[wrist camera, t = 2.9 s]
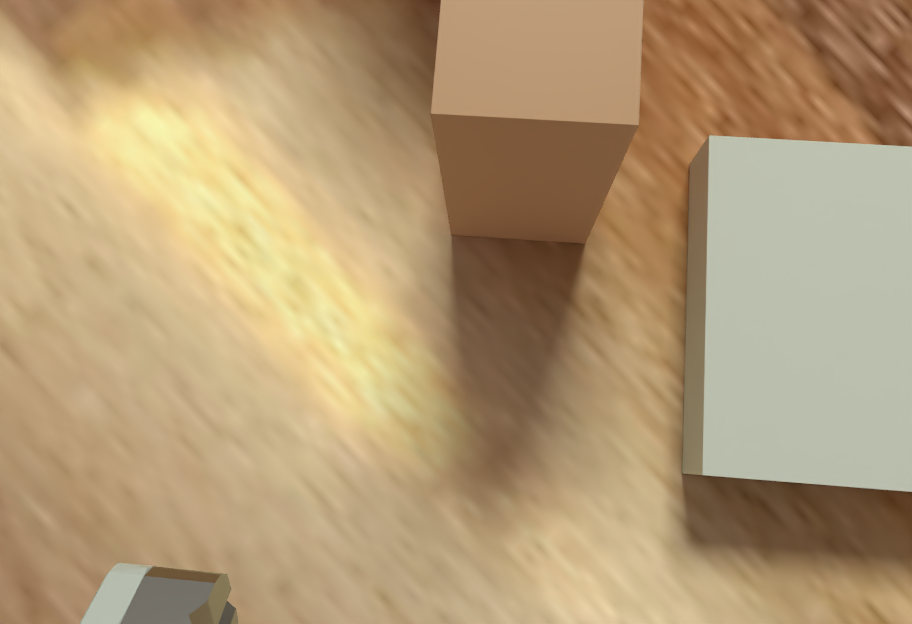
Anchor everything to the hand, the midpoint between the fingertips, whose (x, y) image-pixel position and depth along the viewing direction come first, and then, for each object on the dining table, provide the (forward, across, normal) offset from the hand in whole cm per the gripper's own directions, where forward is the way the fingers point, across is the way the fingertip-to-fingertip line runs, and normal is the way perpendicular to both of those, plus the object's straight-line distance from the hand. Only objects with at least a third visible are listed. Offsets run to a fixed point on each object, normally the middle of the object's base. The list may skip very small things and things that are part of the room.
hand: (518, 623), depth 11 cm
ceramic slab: (+16, -11, +6) cm, 21 cm away
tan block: (+20, 0, +2) cm, 20 cm away
